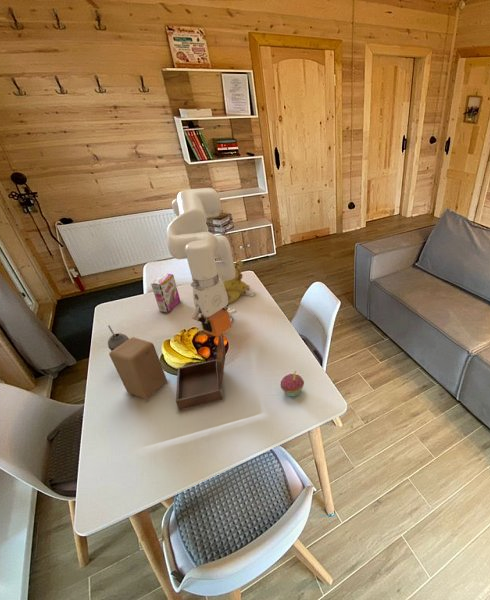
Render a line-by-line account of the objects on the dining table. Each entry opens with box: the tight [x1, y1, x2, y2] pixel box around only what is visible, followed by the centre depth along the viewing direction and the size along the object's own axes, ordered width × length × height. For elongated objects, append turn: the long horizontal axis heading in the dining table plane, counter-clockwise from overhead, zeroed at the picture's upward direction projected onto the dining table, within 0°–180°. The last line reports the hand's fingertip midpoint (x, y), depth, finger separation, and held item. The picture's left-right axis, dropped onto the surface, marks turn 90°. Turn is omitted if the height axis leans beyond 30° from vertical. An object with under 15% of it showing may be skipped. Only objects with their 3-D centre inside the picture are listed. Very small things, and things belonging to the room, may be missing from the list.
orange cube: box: [199, 309, 233, 338], centre depth 114 cm, size 7×7×7 cm
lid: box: [215, 333, 226, 390], centre depth 123 cm, size 15×17×1 cm
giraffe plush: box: [223, 259, 255, 305], centre depth 178 cm, size 20×24×19 cm
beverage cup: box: [107, 324, 130, 352], centre depth 130 cm, size 7×7×20 cm
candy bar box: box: [150, 273, 181, 314], centre depth 168 cm, size 11×5×16 cm, turn 172°
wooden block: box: [108, 336, 168, 400], centre depth 121 cm, size 10×10×20 cm
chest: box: [175, 359, 223, 411], centre depth 125 cm, size 14×17×5 cm
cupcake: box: [279, 370, 305, 397], centre depth 123 cm, size 9×8×12 cm
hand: (216, 324), depth 115 cm, fingers closed on orange cube, 6 cm apart
